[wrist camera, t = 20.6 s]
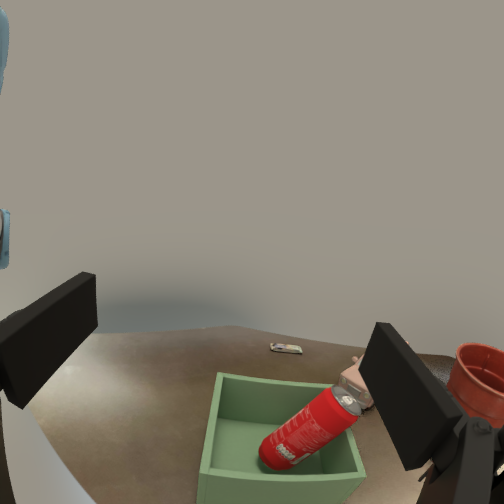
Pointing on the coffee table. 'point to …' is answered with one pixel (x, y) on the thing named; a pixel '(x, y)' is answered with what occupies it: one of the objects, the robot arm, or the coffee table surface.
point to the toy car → (356, 384)
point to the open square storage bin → (250, 438)
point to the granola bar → (286, 348)
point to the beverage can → (310, 429)
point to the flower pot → (479, 382)
